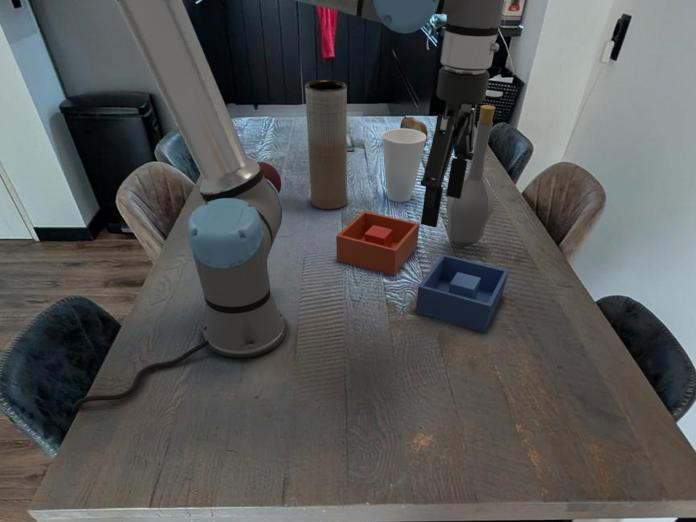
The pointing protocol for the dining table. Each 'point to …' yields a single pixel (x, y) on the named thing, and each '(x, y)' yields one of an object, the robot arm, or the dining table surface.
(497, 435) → the dining table surface
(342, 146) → the vase
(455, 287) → the blue block
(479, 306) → the blue bin
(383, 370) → the dining table surface
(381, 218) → the red bin
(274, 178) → the decorative ball
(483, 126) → the bottle
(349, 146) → the smartphone
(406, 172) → the cup
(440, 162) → the robot arm
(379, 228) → the red block
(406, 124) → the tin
